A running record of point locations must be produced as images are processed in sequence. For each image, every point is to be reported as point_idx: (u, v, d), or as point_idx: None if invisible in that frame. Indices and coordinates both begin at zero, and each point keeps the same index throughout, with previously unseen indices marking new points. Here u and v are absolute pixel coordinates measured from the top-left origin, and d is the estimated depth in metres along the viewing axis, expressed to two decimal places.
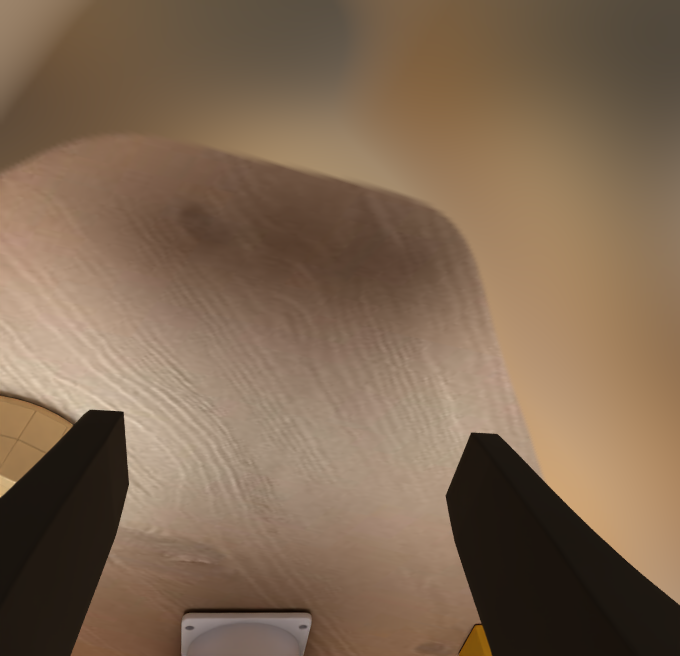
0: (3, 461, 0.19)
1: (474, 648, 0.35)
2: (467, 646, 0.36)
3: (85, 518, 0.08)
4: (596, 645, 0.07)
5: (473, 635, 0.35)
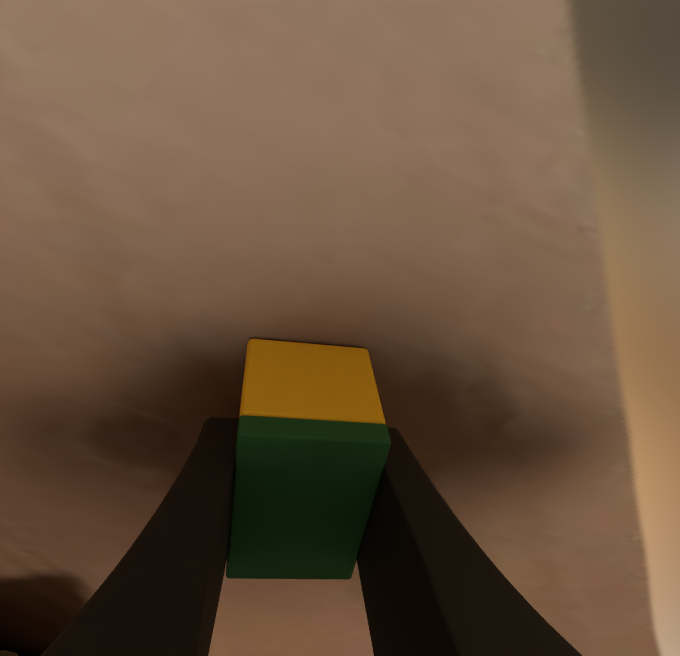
0: None
1: None
2: None
3: (225, 522, 0.08)
4: (436, 648, 0.06)
5: None
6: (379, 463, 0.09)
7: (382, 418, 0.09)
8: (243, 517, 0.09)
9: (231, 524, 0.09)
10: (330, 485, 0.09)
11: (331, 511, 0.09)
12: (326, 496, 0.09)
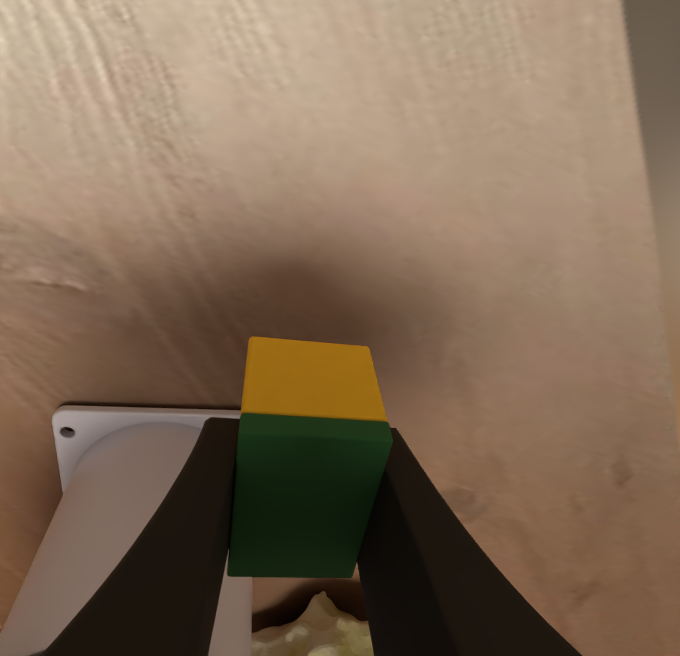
0: None
1: None
2: None
3: (225, 522, 0.08)
4: (436, 647, 0.06)
5: None
6: (381, 461, 0.09)
7: (384, 416, 0.09)
8: (244, 515, 0.09)
9: (232, 522, 0.09)
10: (332, 483, 0.09)
11: (332, 509, 0.09)
12: (327, 495, 0.09)
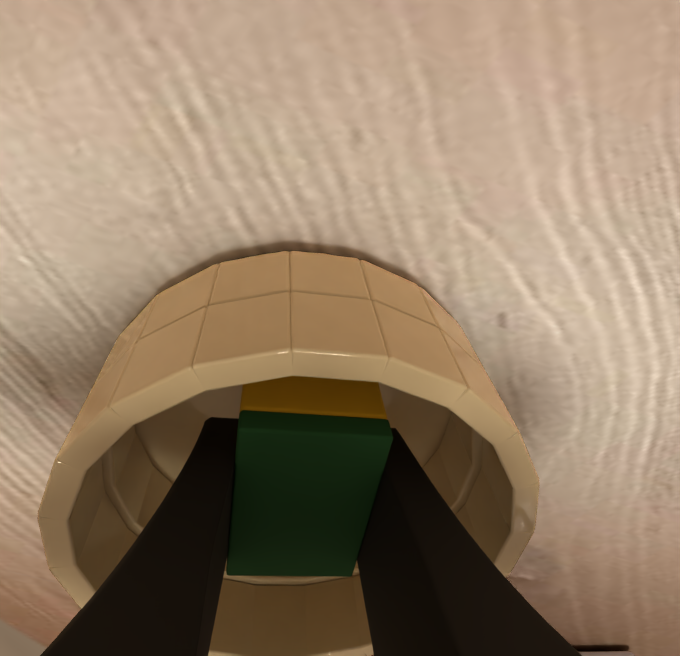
0: (452, 365, 0.08)
1: None
2: None
3: (225, 522, 0.08)
4: (436, 648, 0.06)
5: None
6: (381, 458, 0.09)
7: (384, 413, 0.09)
8: (243, 513, 0.09)
9: (231, 520, 0.09)
10: (332, 480, 0.09)
11: (332, 507, 0.09)
12: (327, 492, 0.09)
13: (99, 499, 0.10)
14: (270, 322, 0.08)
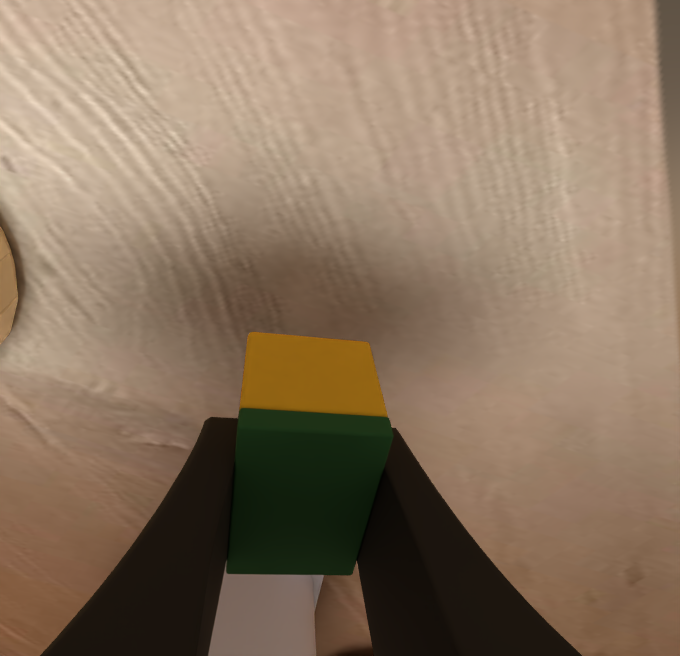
0: None
1: None
2: None
3: (225, 522, 0.08)
4: (436, 647, 0.06)
5: None
6: (381, 456, 0.09)
7: (384, 411, 0.09)
8: (243, 511, 0.09)
9: (231, 519, 0.09)
10: (332, 479, 0.09)
11: (332, 506, 0.09)
12: (327, 490, 0.09)
13: None
14: None
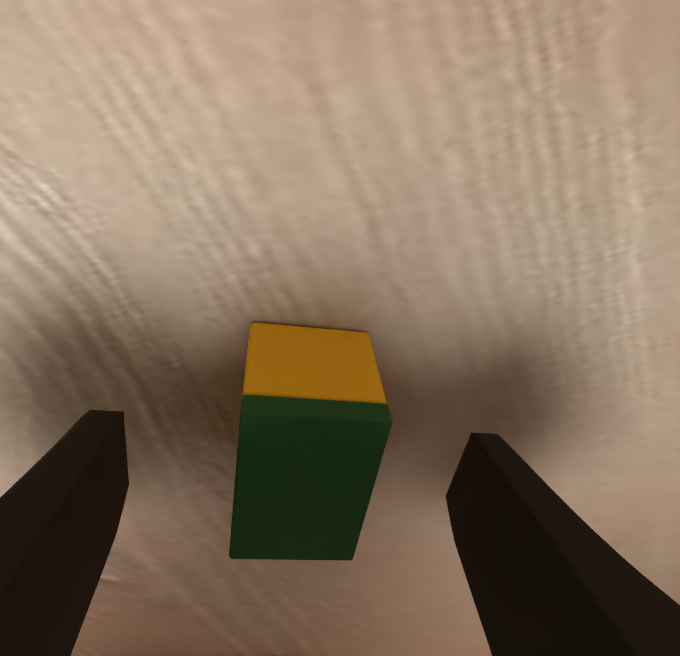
0: None
1: None
2: None
3: (85, 517, 0.08)
4: (596, 645, 0.07)
5: None
6: (380, 442, 0.09)
7: (383, 398, 0.09)
8: (246, 496, 0.09)
9: (234, 504, 0.09)
10: (332, 463, 0.09)
11: (333, 491, 0.09)
12: (328, 476, 0.09)
13: None
14: None
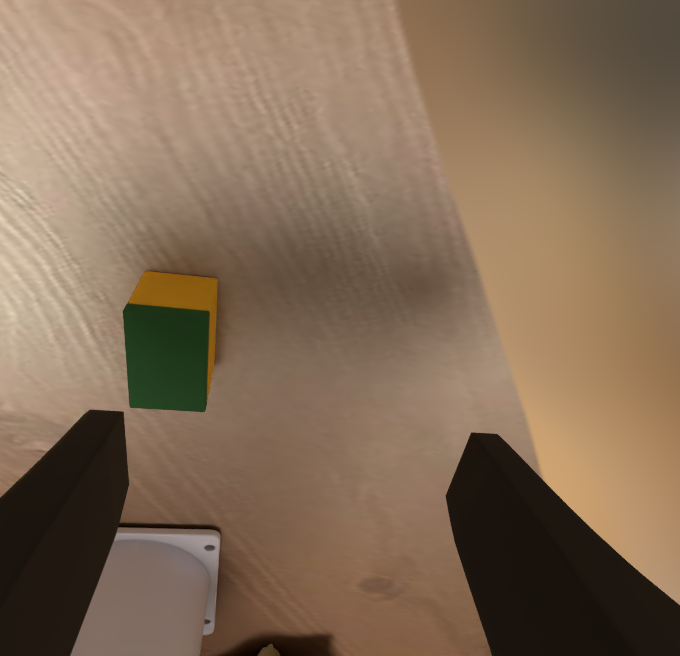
0: None
1: None
2: None
3: (85, 518, 0.08)
4: (596, 645, 0.07)
5: None
6: (203, 331, 0.16)
7: (208, 308, 0.17)
8: (133, 364, 0.17)
9: (127, 369, 0.17)
10: (179, 344, 0.16)
11: (183, 362, 0.17)
12: (178, 352, 0.17)
13: None
14: None
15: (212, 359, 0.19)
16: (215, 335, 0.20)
